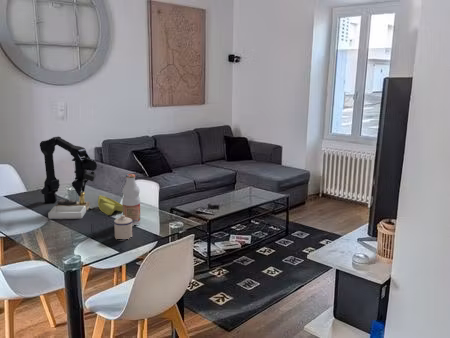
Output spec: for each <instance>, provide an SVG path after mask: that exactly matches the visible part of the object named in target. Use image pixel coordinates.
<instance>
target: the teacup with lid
mask: <svg viewBox="0 0 450 338" xmlns="http://www.w3.org/2000/svg"><path fill="white" fill-rule="evenodd" d="M113 224H114V225H113V226H114V238H115V240H117V239H128V240H130V239H131V238H130V237H132V238H133V226H132V219H131V218H127V217H125V215H123V214H122V215H121V216H120V217H118V218H116V219H114V220H113ZM129 238H130V239H129Z"/></svg>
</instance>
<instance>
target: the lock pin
mask: <svg viewBox="0 0 450 338" xmlns="http://www.w3.org/2000/svg"><path fill="white" fill-rule="evenodd" d="M85 195H86V191H84V192H82V191H81V196H78V199H79V201H78V202H80V205H85V202H86V201H85Z"/></svg>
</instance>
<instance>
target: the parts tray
mask: <svg viewBox="0 0 450 338" xmlns="http://www.w3.org/2000/svg"><path fill="white" fill-rule="evenodd" d="M47 213H48V214H47V215H48V220H74V219H75V220H76V219H77V220H78V219H79V220H80V219H83V217H84V216H85V215H86V213H87V211H86V206H56V205H54V206H53V207H52V209H51V210H49V211H48V212H47Z"/></svg>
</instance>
